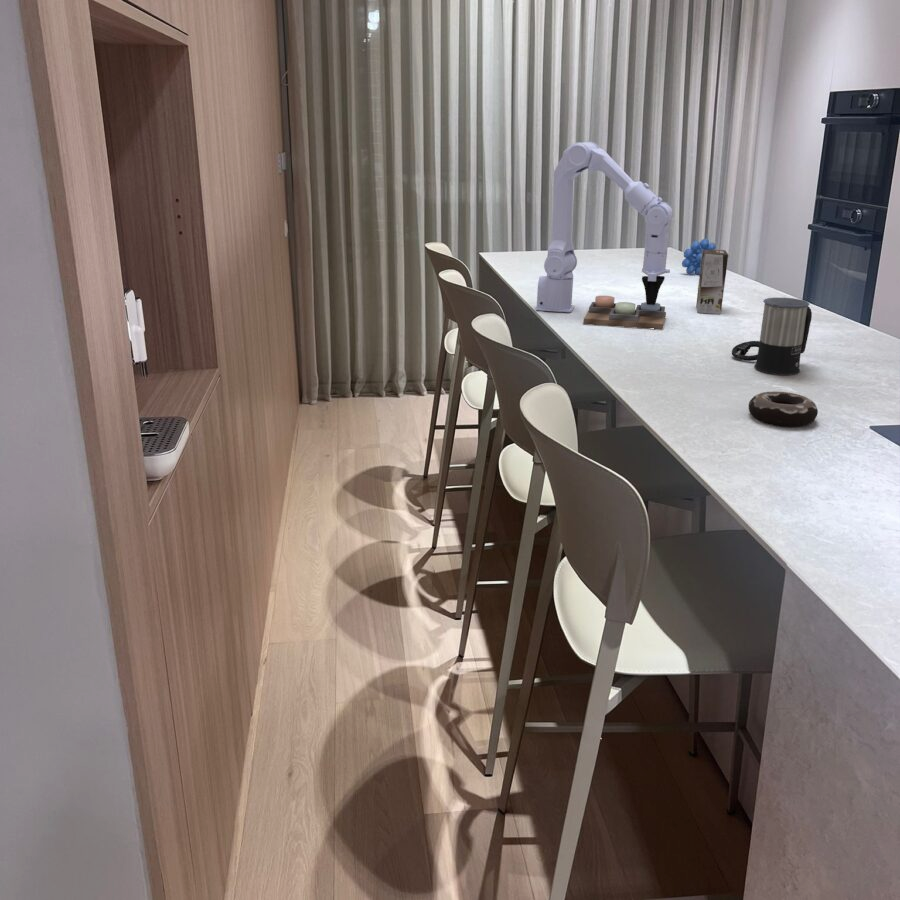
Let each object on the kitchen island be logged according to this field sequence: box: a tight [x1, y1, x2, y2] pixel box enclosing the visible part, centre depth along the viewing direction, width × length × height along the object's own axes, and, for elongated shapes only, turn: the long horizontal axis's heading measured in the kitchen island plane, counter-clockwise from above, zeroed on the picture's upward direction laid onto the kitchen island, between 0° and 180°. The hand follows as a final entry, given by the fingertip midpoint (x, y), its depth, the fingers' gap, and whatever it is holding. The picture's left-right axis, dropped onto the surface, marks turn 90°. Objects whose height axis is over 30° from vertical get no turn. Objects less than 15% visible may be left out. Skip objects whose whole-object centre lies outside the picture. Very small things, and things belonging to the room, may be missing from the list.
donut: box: [748, 390, 819, 428], centre depth 160 cm, size 12×12×4 cm
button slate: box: [640, 301, 661, 311], centre depth 234 cm, size 5×5×2 cm
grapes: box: [681, 238, 717, 276], centre depth 299 cm, size 12×7×12 cm, turn 95°
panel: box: [582, 301, 667, 330], centre depth 233 cm, size 20×15×3 cm
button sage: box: [615, 301, 637, 315], centre depth 229 cm, size 5×5×2 cm
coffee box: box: [696, 249, 729, 315], centre depth 244 cm, size 9×6×16 cm
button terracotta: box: [594, 295, 615, 308], centre depth 237 cm, size 5×5×2 cm
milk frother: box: [731, 297, 813, 376], centre depth 192 cm, size 14×16×15 cm
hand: (650, 304), depth 234 cm, fingers closed, pressing on button slate
